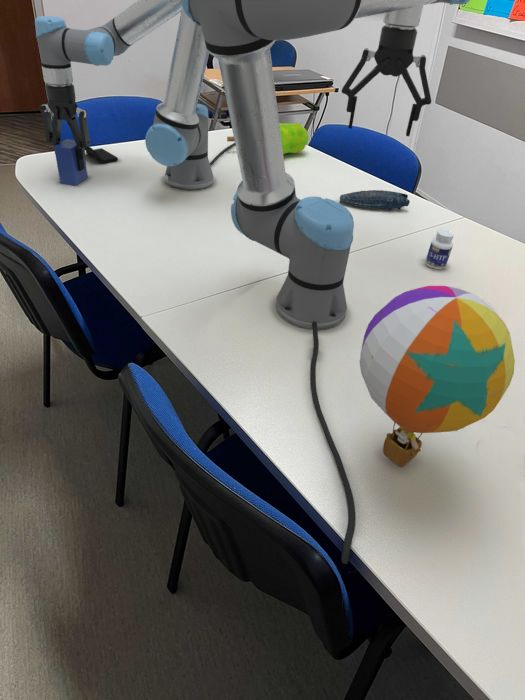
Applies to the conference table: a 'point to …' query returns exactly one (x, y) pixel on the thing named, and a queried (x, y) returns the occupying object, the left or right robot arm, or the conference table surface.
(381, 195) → the fish model
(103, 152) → the black handled piece
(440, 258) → the pill bottle
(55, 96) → the left robot arm
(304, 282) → the right robot arm
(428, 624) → the conference table surface
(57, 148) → the brick
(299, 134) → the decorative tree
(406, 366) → the toy
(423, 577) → the conference table surface
